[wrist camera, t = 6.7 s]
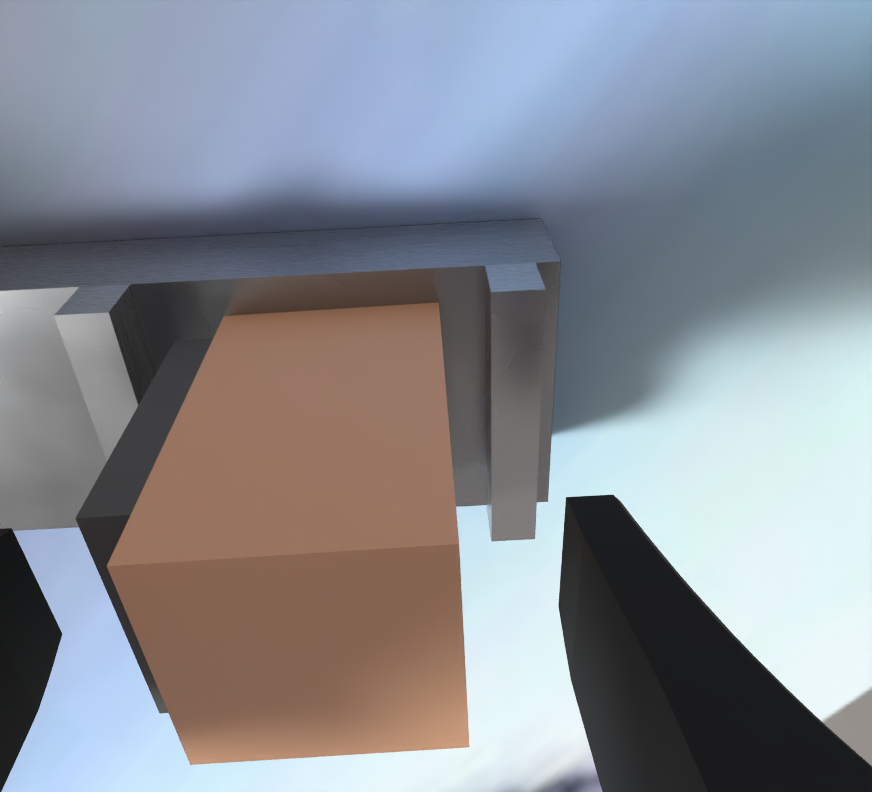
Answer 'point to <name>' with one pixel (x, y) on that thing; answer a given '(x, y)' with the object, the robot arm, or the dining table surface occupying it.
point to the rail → (273, 293)
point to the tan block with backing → (292, 537)
